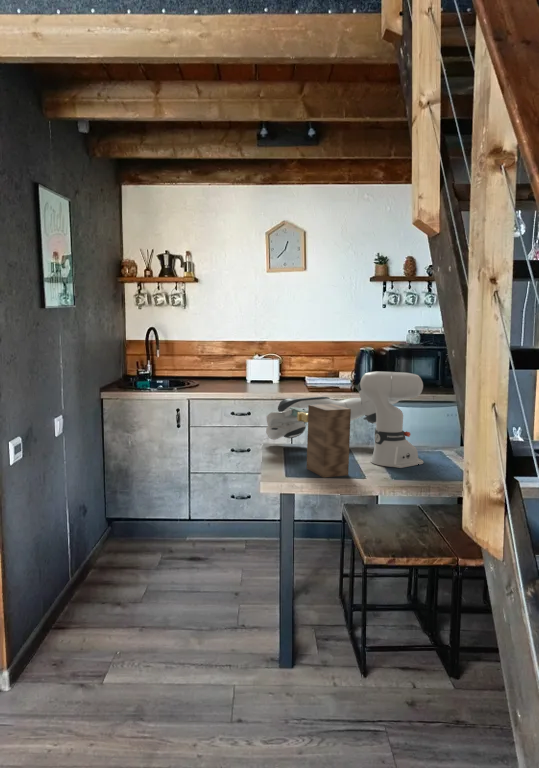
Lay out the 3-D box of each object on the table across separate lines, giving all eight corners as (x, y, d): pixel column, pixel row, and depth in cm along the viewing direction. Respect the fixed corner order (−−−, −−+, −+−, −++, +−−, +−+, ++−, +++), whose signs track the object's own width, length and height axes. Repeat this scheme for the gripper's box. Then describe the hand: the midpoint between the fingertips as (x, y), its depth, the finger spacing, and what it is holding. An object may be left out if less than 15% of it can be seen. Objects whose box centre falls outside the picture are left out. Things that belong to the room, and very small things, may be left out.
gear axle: (303, 413, 254) (303, 406, 254) (326, 421, 235) (326, 414, 234) (282, 414, 250) (282, 407, 249) (303, 423, 230) (304, 415, 230)
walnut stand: (330, 466, 233) (332, 403, 230) (348, 475, 220) (350, 409, 218) (306, 468, 229) (308, 404, 226) (323, 477, 216) (325, 410, 213)
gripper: (306, 426, 263) (319, 416, 251) (265, 429, 255) (277, 418, 243) (303, 414, 265) (316, 403, 253) (263, 416, 257) (274, 405, 245)
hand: (296, 410), depth 248 cm, fingers closed on gear axle, 3 cm apart
